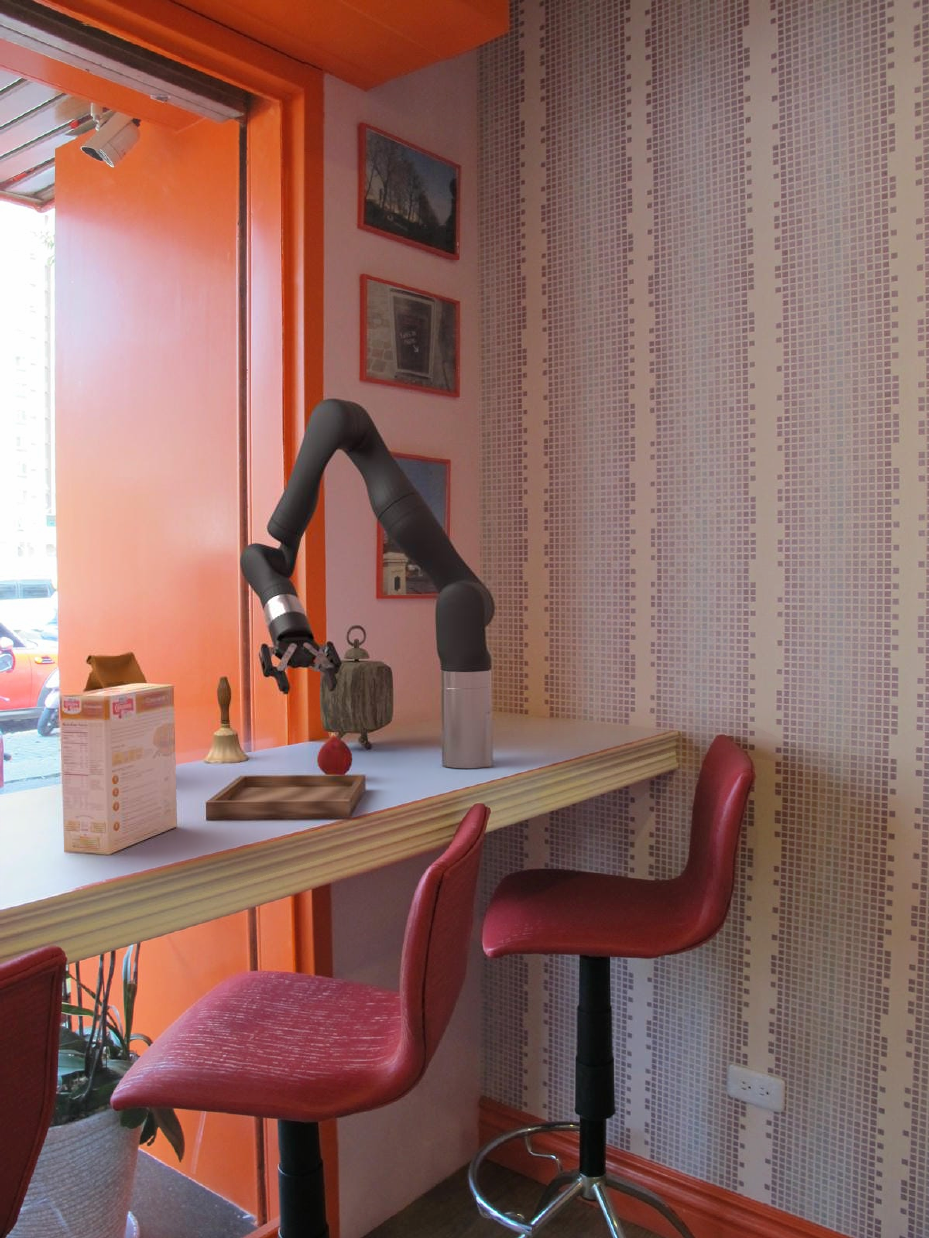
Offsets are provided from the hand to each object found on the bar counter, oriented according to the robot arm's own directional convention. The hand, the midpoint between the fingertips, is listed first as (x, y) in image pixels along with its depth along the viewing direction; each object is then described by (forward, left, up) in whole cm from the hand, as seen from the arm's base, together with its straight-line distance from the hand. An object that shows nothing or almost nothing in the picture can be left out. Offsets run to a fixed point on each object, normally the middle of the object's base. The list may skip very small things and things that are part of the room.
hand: (310, 689), depth 174 cm
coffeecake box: (+16, +48, -15) cm, 53 cm away
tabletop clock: (-6, -24, -15) cm, 29 cm away
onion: (-6, +10, -15) cm, 18 cm away
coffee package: (+31, +11, -15) cm, 36 cm away
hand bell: (+18, -12, -15) cm, 26 cm away
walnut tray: (-2, +28, -14) cm, 31 cm away
